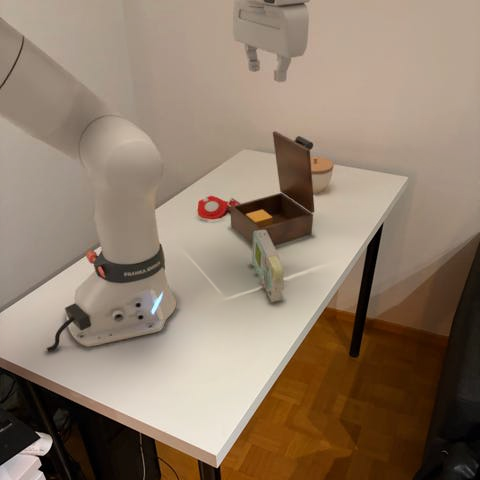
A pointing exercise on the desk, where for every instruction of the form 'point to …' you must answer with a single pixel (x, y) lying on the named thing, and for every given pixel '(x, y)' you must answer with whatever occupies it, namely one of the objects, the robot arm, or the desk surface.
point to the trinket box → (320, 173)
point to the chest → (284, 219)
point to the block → (260, 218)
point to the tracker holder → (214, 207)
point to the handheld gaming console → (267, 264)
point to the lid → (295, 169)
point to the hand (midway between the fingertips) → (266, 75)
